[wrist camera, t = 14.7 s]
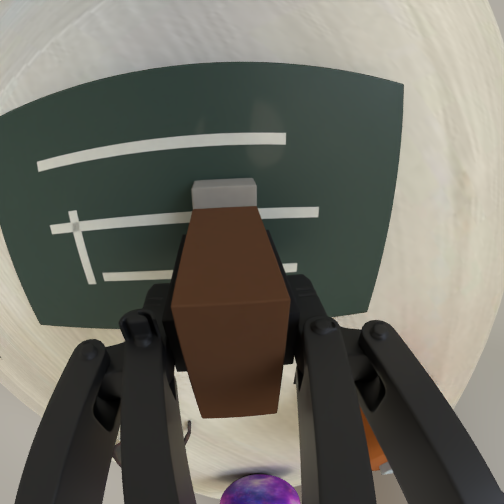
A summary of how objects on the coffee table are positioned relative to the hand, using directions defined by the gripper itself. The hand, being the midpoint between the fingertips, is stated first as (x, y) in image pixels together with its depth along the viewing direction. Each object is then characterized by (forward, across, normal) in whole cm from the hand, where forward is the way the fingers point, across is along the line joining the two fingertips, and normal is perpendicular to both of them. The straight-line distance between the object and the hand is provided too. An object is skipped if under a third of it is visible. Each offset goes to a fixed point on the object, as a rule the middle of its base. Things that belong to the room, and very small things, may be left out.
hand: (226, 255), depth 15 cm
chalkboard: (+2, -3, +2) cm, 4 cm away
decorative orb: (+2, +2, -51) cm, 51 cm away
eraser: (+1, 0, 0) cm, 1 cm away
